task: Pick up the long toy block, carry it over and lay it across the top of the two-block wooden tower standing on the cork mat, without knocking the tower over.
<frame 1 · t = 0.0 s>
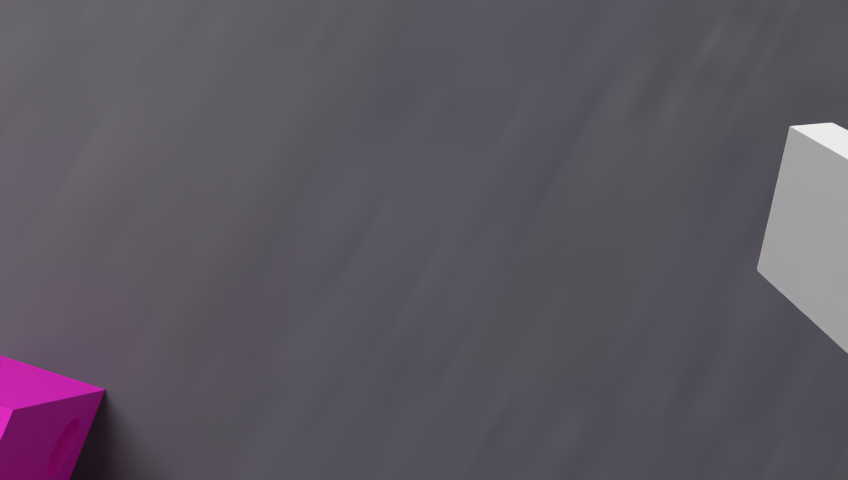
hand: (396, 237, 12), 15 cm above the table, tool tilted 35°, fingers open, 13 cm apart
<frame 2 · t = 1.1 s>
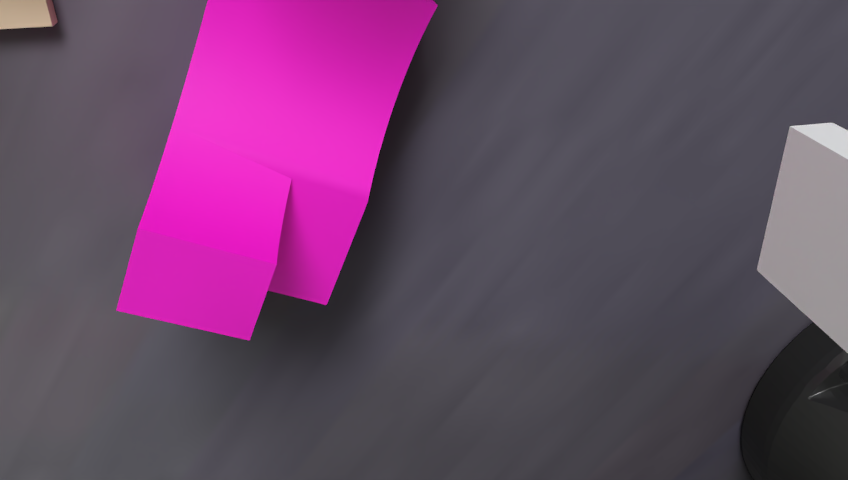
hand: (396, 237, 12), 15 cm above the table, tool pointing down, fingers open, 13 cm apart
toy block: (304, 31, 25), on the table
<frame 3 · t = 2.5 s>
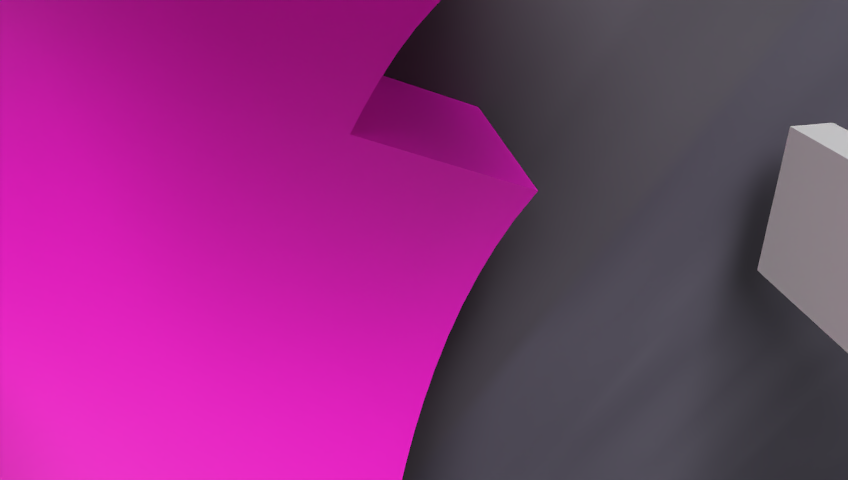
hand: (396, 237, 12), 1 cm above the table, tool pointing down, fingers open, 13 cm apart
toy block: (248, 197, 13), on the table
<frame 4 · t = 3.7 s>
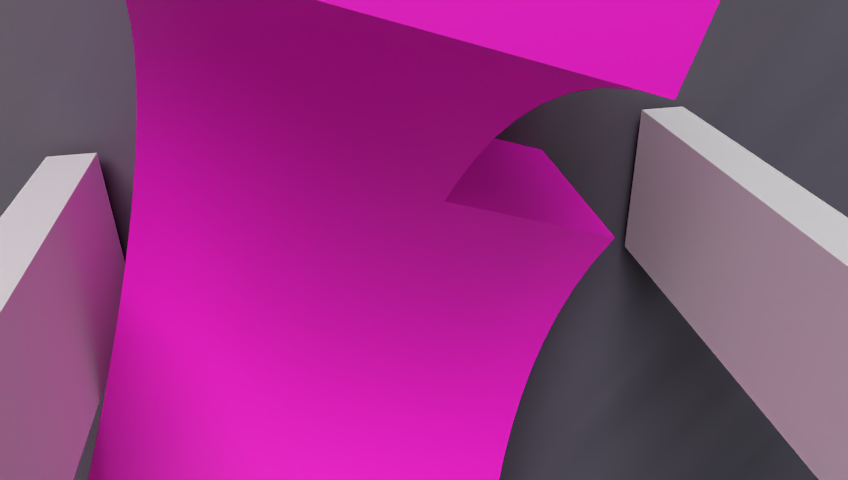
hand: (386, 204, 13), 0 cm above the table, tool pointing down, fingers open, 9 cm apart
toy block: (330, 245, 14), on the table, touching gripper
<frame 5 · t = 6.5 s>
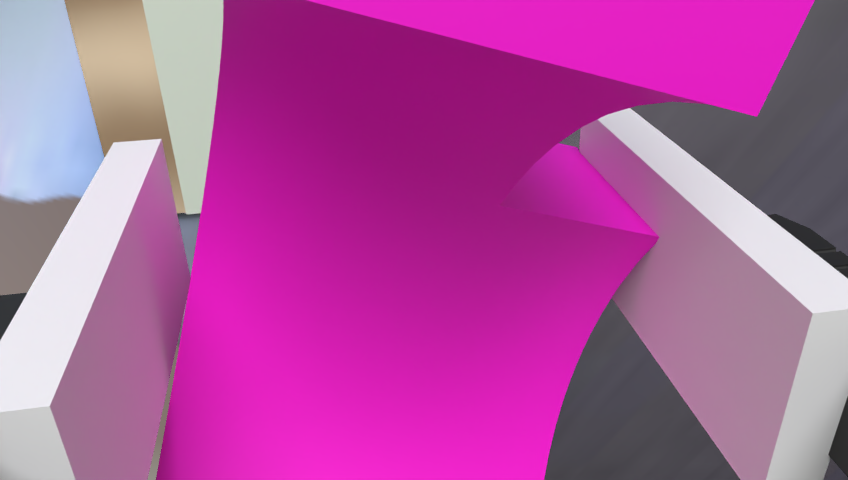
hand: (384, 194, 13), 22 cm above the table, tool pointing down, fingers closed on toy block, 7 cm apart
toy block: (374, 246, 14), point 21 cm above the table, touching gripper
tower top: (315, 13, 26), point 7 cm above the table, touching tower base
when the fingers open (14 cm above the table, at t = 9.2 s): toy block stays where it is, resting on tower top.
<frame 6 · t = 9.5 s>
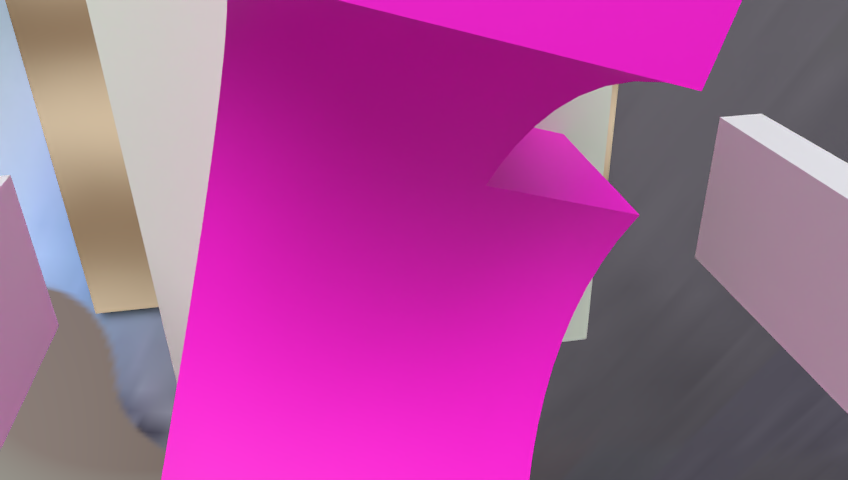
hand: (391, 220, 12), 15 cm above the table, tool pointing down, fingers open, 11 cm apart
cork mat: (338, 26, 25), on the table
toy block: (370, 230, 15), point 12 cm above the table, touching tower top
tower top: (353, 83, 19), point 7 cm above the table, touching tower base, toy block
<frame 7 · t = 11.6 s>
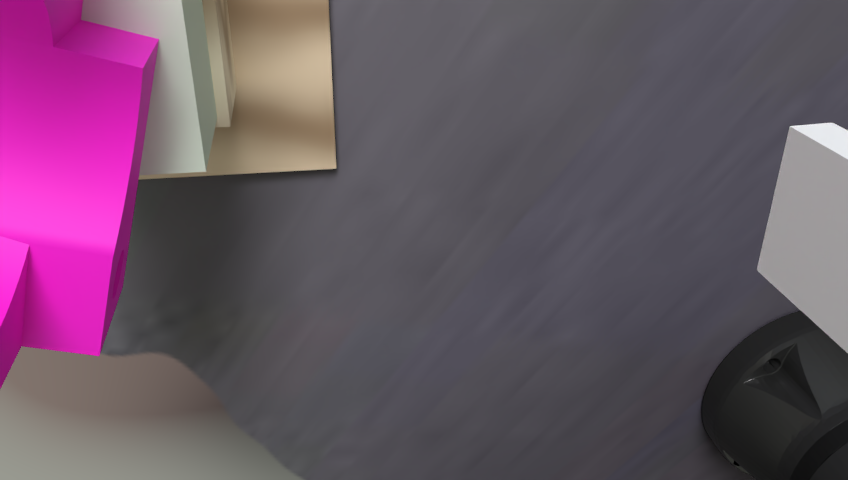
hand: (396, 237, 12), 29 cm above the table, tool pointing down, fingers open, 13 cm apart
toy block: (55, 92, 26), point 12 cm above the table, touching tower top
tower top: (90, 18, 30), point 7 cm above the table, touching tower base, toy block
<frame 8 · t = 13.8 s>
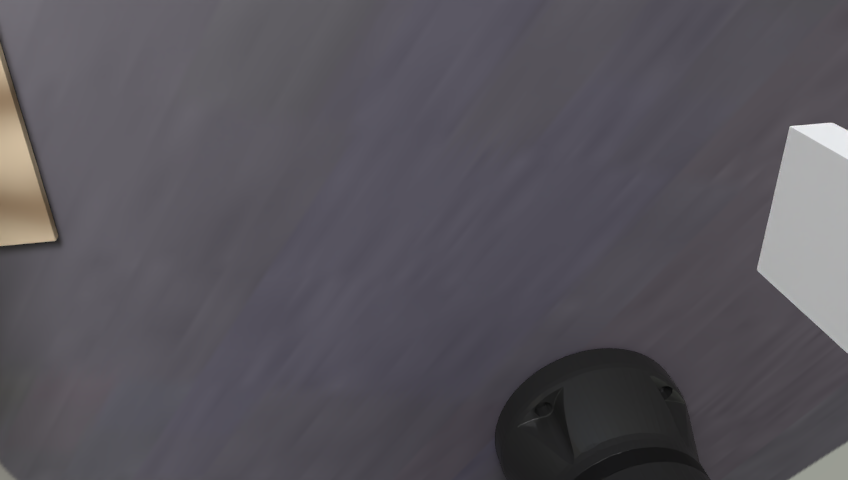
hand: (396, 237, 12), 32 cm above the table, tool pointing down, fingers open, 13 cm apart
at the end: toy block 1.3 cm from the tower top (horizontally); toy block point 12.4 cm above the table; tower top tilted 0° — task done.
